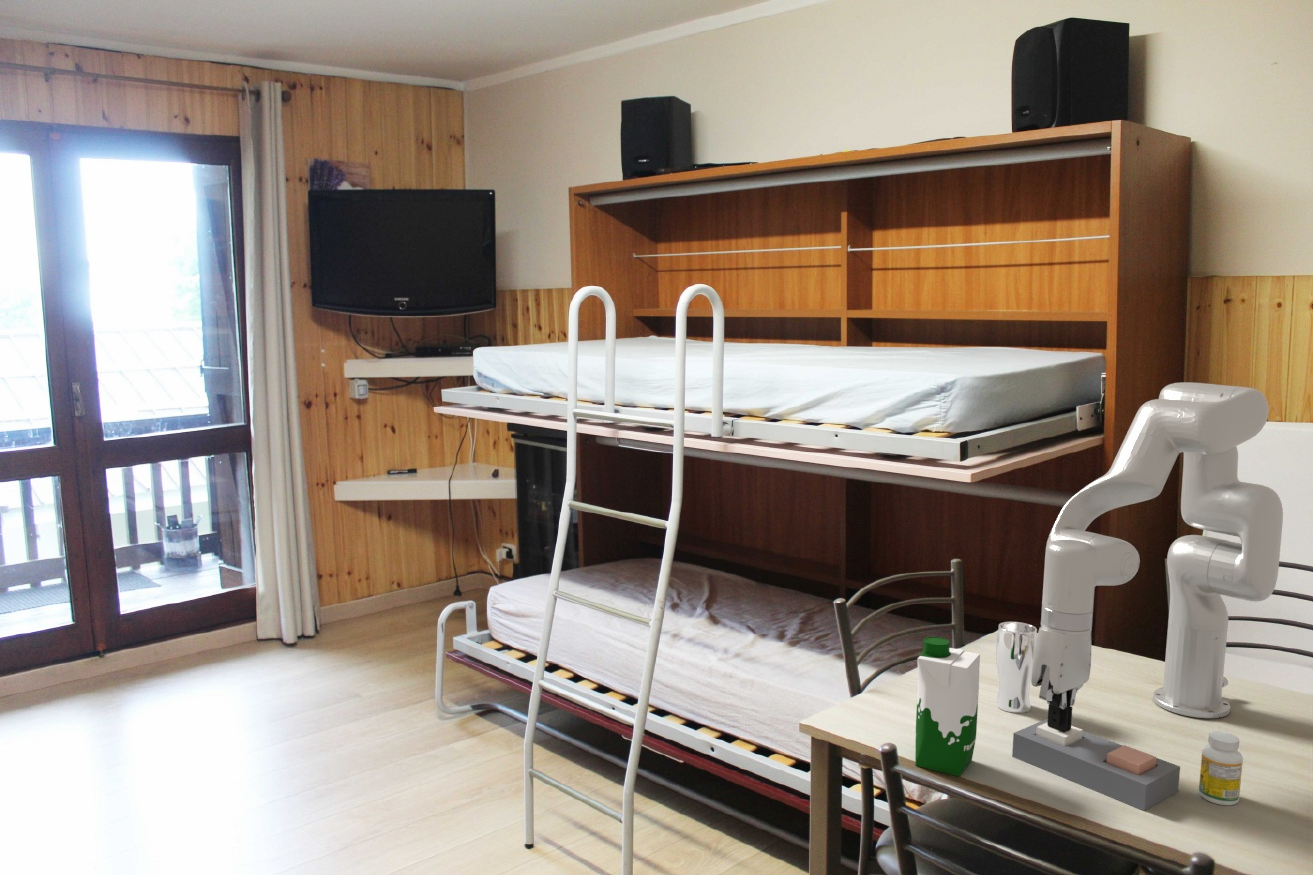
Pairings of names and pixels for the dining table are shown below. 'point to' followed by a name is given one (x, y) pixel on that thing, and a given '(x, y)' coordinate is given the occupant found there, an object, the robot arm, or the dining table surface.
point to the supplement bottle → (1221, 769)
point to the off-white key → (1059, 735)
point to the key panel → (1097, 767)
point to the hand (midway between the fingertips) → (1058, 728)
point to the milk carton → (946, 707)
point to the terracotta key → (1131, 760)
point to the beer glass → (1015, 665)
